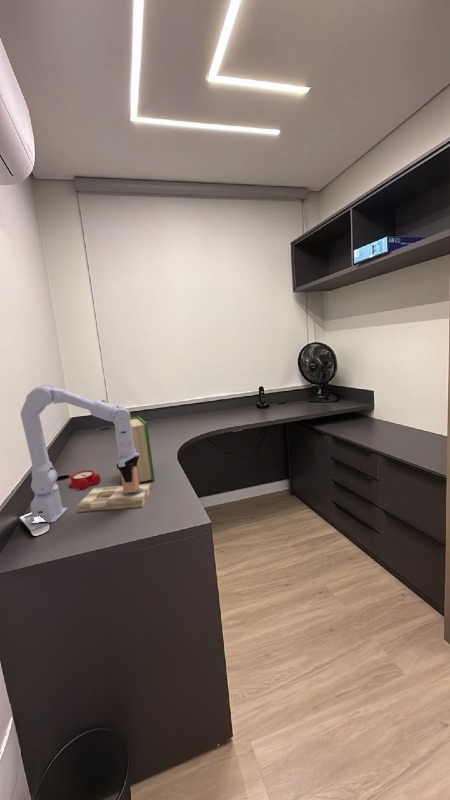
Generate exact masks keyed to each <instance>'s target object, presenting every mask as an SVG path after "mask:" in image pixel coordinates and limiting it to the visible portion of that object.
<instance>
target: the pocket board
mask: <svg viewBox="0 0 450 800" xmlns="http://www.w3.org/2000/svg"><path fill="white" fill-rule="evenodd" d="M152 491H153V488H152V483H151V482H150V483H149V482H148V483H139V488H138V490H137V491H136V492H131V493H124V492H123V485H115V486H114V485H113V486H102V487H93V488H92V489H91V491H90V492H89V493H88V494H86V496H85V497H84V498H83V499H82V500H81V501H80V502H79V503H77V510H78V513H79V512H80V513H81V512H93V511H106V510H108V511H109V510H118V509H119V510H121V509H129V508H131V509H132V508H141V507H144V505H145V502H146V501H147V499H148V497H149V496H150V494H151V492H152Z"/></svg>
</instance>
